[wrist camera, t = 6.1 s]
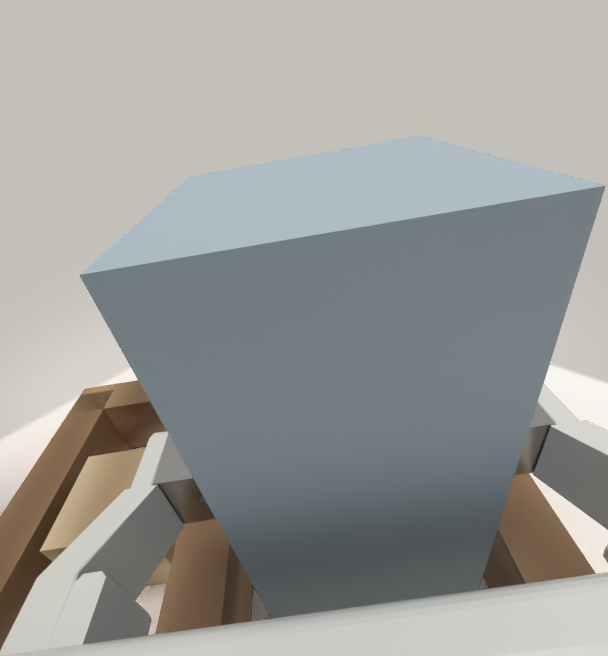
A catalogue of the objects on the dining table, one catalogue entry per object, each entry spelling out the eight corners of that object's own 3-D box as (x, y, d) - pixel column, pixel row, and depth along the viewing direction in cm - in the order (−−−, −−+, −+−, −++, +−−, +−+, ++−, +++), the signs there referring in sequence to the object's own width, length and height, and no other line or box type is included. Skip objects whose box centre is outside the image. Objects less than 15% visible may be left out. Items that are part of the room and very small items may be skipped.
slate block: (306, 680, 12) (79, 275, 3) (298, 527, 16) (188, 176, 8) (456, 661, 12) (605, 185, 3) (408, 511, 16) (419, 135, 7)
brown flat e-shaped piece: (-140, 927, 9) (-286, 949, 7) (111, 427, 23) (84, 388, 21) (683, 833, 8) (766, 829, 7) (431, 377, 22) (434, 333, 20)
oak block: (93, 594, 15) (39, 551, 13) (126, 503, 18) (88, 456, 16) (184, 581, 15) (147, 534, 13) (201, 492, 18) (173, 443, 16)
